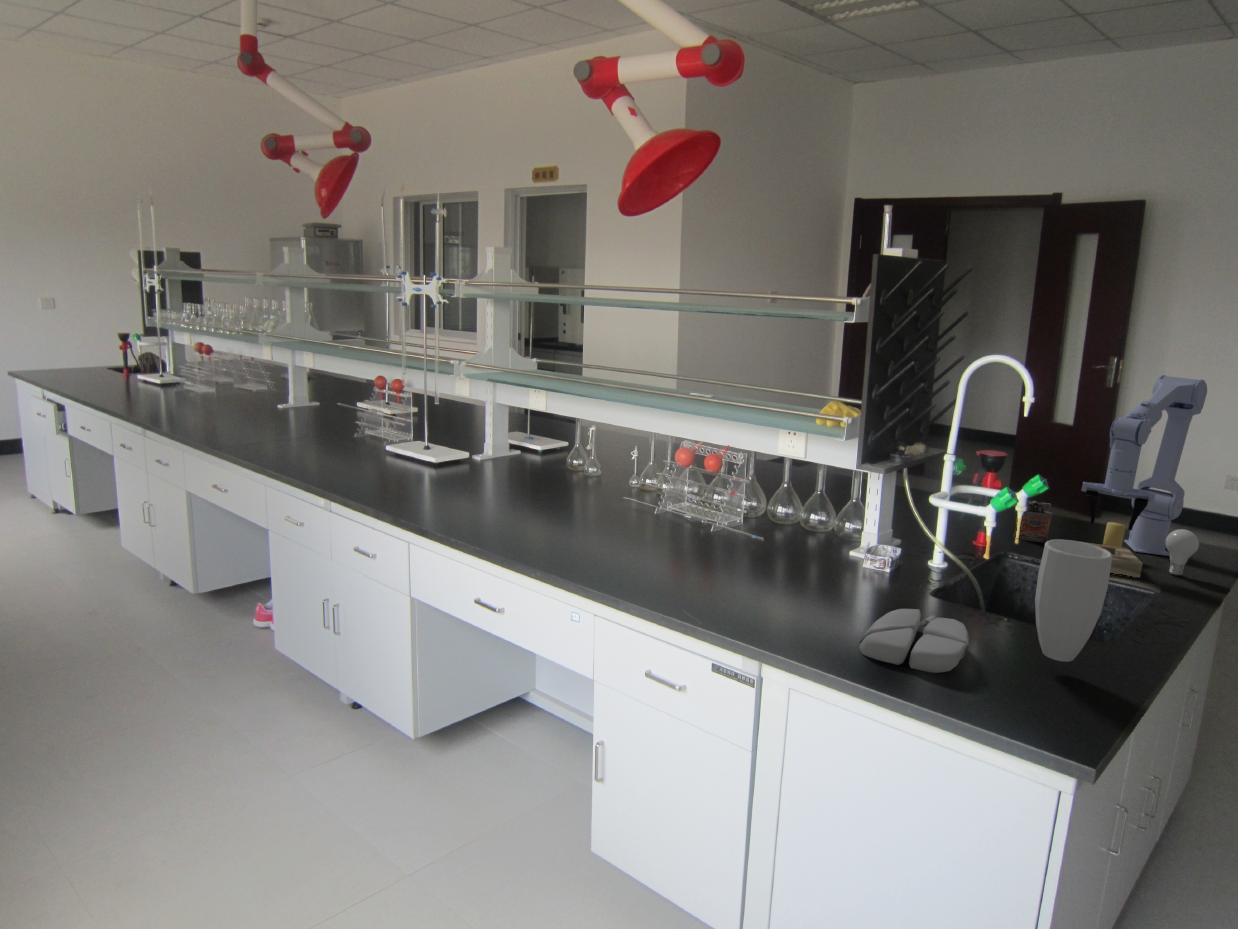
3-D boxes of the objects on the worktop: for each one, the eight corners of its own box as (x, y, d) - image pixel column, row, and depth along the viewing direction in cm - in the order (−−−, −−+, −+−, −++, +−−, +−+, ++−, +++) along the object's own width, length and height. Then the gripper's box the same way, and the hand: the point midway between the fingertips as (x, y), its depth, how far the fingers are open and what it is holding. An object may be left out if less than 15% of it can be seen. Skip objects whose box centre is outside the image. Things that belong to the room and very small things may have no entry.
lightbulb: (1185, 572, 193) (1195, 528, 190) (1195, 581, 187) (1206, 535, 184) (1154, 568, 195) (1164, 524, 192) (1164, 577, 189) (1174, 531, 186)
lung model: (850, 656, 139) (882, 620, 160) (958, 687, 130) (976, 645, 152) (856, 618, 138) (887, 588, 159) (966, 648, 129) (983, 611, 151)
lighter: (1015, 538, 212) (1021, 501, 210) (1012, 535, 215) (1018, 498, 213) (1049, 542, 210) (1056, 505, 208) (1045, 539, 214) (1052, 502, 211)
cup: (1030, 652, 144) (1051, 534, 139) (1096, 672, 137) (1121, 550, 133) (1012, 670, 136) (1034, 546, 132) (1081, 693, 130) (1107, 564, 125)
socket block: (1069, 554, 202) (1071, 540, 201) (1124, 561, 199) (1126, 547, 198) (1081, 569, 190) (1084, 555, 190) (1139, 577, 187) (1142, 563, 186)
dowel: (1098, 551, 205) (1105, 521, 203) (1116, 554, 204) (1123, 523, 202) (1103, 556, 201) (1109, 525, 200) (1121, 559, 200) (1128, 527, 199)
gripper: (1085, 467, 190) (1075, 523, 193) (1159, 477, 183) (1147, 536, 186) (1087, 462, 196) (1076, 516, 199) (1158, 472, 189) (1147, 529, 192)
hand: (1110, 525), depth 193 cm, fingers open, 7 cm apart
